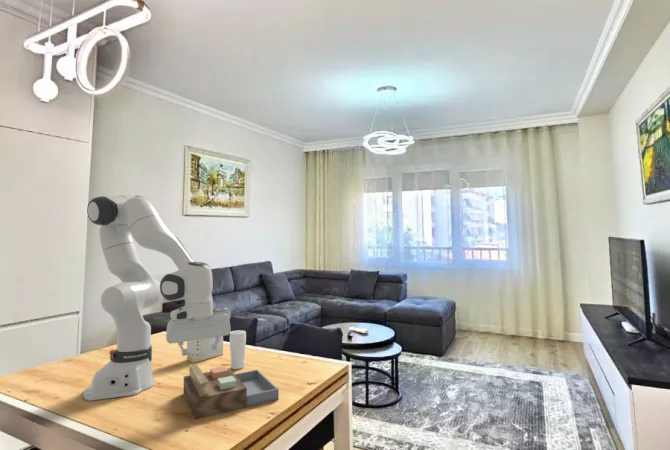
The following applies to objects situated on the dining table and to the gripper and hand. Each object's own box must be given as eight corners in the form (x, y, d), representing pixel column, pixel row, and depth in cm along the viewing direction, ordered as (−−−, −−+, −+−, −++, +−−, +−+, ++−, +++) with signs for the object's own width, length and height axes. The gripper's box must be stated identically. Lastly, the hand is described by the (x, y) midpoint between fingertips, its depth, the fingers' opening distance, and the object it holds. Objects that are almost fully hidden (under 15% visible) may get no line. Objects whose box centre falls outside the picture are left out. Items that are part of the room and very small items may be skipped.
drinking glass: (236, 371, 152) (236, 334, 153) (226, 368, 156) (226, 332, 157) (249, 367, 158) (249, 331, 158) (239, 363, 162) (239, 329, 162)
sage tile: (220, 389, 118) (221, 383, 118) (217, 384, 123) (217, 378, 123) (236, 386, 121) (236, 380, 121) (232, 381, 125) (232, 375, 125)
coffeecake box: (215, 352, 179) (215, 311, 180) (223, 355, 175) (223, 313, 176) (186, 360, 168) (186, 316, 169) (194, 363, 163) (194, 318, 164)
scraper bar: (200, 396, 113) (200, 383, 113) (189, 376, 130) (189, 364, 131) (208, 394, 114) (208, 381, 115) (196, 375, 132) (196, 363, 132)
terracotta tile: (213, 378, 128) (213, 373, 128) (210, 374, 132) (210, 368, 132) (227, 376, 130) (227, 370, 130) (224, 371, 135) (224, 366, 135)
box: (246, 407, 119) (246, 395, 119) (229, 384, 138) (229, 375, 138) (278, 399, 125) (278, 388, 125) (257, 378, 144) (257, 369, 144)
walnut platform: (194, 419, 111) (194, 399, 111) (183, 393, 130) (183, 376, 130) (246, 407, 119) (246, 388, 120) (229, 384, 138) (229, 368, 139)
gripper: (228, 305, 132) (228, 345, 131) (165, 312, 121) (165, 355, 120) (232, 308, 126) (233, 349, 125) (167, 315, 116) (167, 360, 115)
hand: (199, 352), depth 123 cm, fingers open, 8 cm apart
